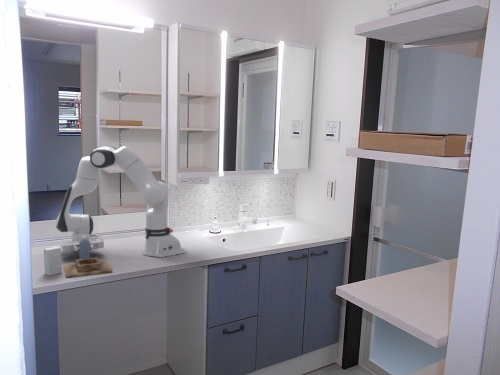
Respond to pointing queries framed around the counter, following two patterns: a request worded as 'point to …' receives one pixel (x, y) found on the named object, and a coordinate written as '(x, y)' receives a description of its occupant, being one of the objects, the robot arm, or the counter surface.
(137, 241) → the counter surface
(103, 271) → the bottle caddy
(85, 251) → the soap bottle
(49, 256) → the skincare box
